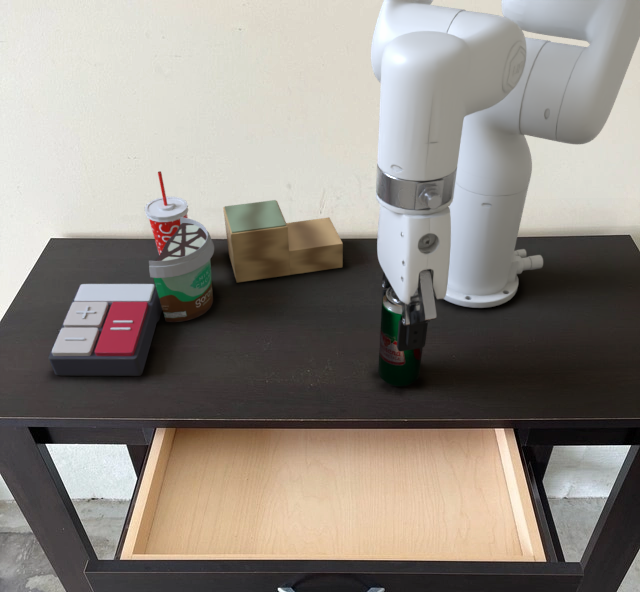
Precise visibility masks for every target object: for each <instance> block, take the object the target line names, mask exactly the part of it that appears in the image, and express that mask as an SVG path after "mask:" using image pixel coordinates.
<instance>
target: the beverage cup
mask: <svg viewBox="0 0 640 592" xmlns="http://www.w3.org/2000/svg"><path fill="white" fill-rule="evenodd" d="M157 175H158V176H157V177H158V181H159V187H160V191H161V197H157V198H155V199H152V200H150V201H148V202H147V203H146V204H145V206H144V212H145V215H146V218H147V219H148V220H149V224H150V227H151V231H152V234H153V238H154V242H155V245H156V249H157V252H158V256H159V255H160V254H161V252H162V250H163V248H164V246H165V244H166V242H167V241H168V240H169V239H170V238H171V237H172V236H173V235H174V234H175V232H176V231H177V230H178V228H179V226H180V225H181V224H180V217H183V218H189V217H188V212H189V204H188V202H187V201H186V200H185V199H184V198H182V197H178V196H167V194H166V190H165V189H166V188H165V184H164V180H163V175H162V171H158V172H157Z"/></svg>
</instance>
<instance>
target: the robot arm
mask: <svg viewBox="0 0 640 592" xmlns="http://www.w3.org/2000/svg"><path fill="white" fill-rule="evenodd" d="M433 2H434V0H383V1H382V3H381V7H380V10H379V12H378V16H377V19H376V23H375V26H374V29H373V30H374V31H373V32H372V33H373V34H372V37H371V38H372V39H371V45H370V64H371V69H372V72H373V75H374V77H375V79H376V80H377V81H378V82H379V83H380V87H379V89H380V90H379V115H378V138H377V160H376V161H377V163H376V182H375V199H376V201H377V203H378V204H379V213H378V223H377V235H376V237H377V239H376V240H377V241H376V243H377V244H376V251H377V259H378V262H379V263H378V264H379V265H380V268H381V269H382V272H383V275H382V278H381V284H382V287H383V289H382V291H381V300H382V299H383V297H384V296H385V295H386V291H387V290H388V288H389V287H391V286H392V288H393V289H394V291H395V293H396V294H397V296H398V298H399V299H400V300H401V301H402V320H400V321H399V324H398V337H397V349H398V351H407V350H412V349H418V348H425V346H426V341H427V334H428V326H429V325H428V324H429V323H430V321H434V320H436V319H437V317H438V315H437V308H436V302H435V298H436V300H445V301H446V302H448V303H451V304H453V305H456V306H459V307H460V306H461V307H464V308H472V309H484V308H485V309H486V308H492V307H493V308H494V307H496V306H500V305H503V304H505V303H507V302H508V301H510V300H511V299H513V297H515V295H516V294H517V292H518V287H519V277H518V275H521V274H522V273H523V271H533V270H539V269H542V268H543V266H544V258H543V256H542V255H541V254H535V255H529V256H527V250H526V249H525V248H521V249H516V245H517V240H518V235H519V232H520V226H521V222H522V217H523V212H524V209H525V203H526V199H527V195H528V191H529V186H530V182H531V178H532V172H533V159H532V153H531V150H530V146H529V144H528V141H527V138H526V136H528V137H534V138H539V139H543V140H548V141H553V142H556V143H557V142H558V143H563V144H569V145H584V144H588V143H590V142H591V141H593V140H595V139H596V138H597V137H598V136H599V134H601V132H602V131H603V129H604V127H605V126H606V123H607V122H608V119H609V117H610V115H611V113H612V110H613V108H614V105H615V103H616V100H617V98H618V95H619V92H620V90H621V87H622V84H623V82H624V79H625V77H626V74H627V72H628V69H629V66H630V64H631V61H632V58H633V56H634V53H635V51H636V48H637V45H638V43H639V40H640V0H501V2H500V3H501V5H500V6H501V13H502V15H499V14H493V13H486V12H480V11H473V10H472V11H471V10H466V9H463V8H455V7H449V6H442V5H441V6H440V5H435V4H432V3H433ZM524 32H527V33H533V34H536V35H542V36H550V37H556V38H563V39H570V40H571V39H572V40H577V41H583V42H587V43H588V44H589V45H588V46H582V45H577V44H569V43H562V42H557V41H556V42H555V41H551V40H548V39H542V38H541V39H538V38H534V37H528V36H525V33H524ZM416 290H418V293H416V294H415V292H416ZM416 302H419V303H420V309H419V310H417V311H413V312H411V313H410V303H416ZM380 308H381V309H380V313H381V312H382V306H380Z"/></svg>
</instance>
